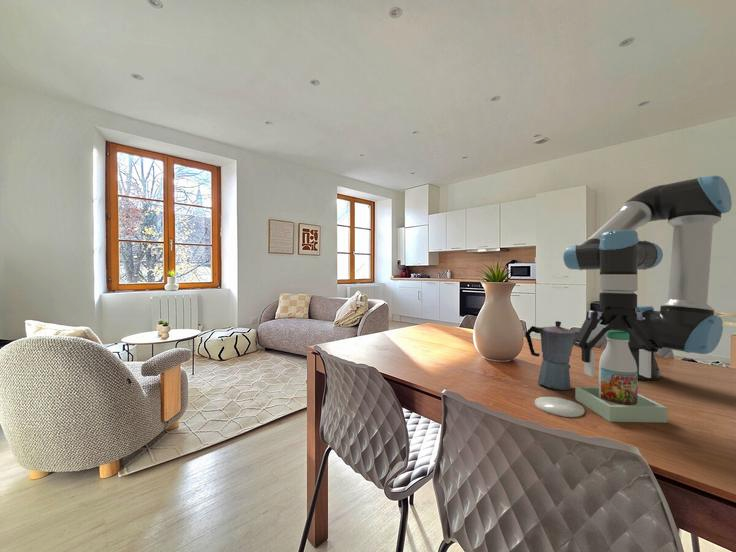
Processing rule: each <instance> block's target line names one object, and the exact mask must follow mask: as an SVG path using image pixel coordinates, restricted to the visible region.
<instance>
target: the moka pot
mask: <svg viewBox="0 0 736 552" xmlns="http://www.w3.org/2000/svg"><path fill="white" fill-rule="evenodd" d="M554 324H555V325H554V326H543V327H542V326H541V327H539V326H538V327H537V326H534V325H531V327H530V328H528V329H527V331H526V332H525V333H524V334H525V335H524V336H525V338H526V341H527V343H528V348H529V352H530V355H531V356H533V357H540V353H538V352H537V353H536V352H535V349H534V345H533V341H532V337H531V335H530V334H531V333H535V334H540V344H541V352H542V354H541V356H542V360H541V366H540V370H539V374H538V379H537V384H540V385H541V386H543V387H546V388H548V389H549V388H550V389H552V390H559V391H560V390H561V391H568V390H570V389H571V375H570V369H571V365H570V364H569V363H570V360H571V356H572V351H573V347H574V346H575V345H574V344H573V343H574V340H575V339H576V337H577V335H578V333H579V331H578V330H573V329H568V328H565V327H562V326H561V325H562V322H561V321H559V320H558V321H557V320H556V321H555V323H554Z"/></svg>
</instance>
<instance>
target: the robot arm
mask: <svg viewBox="0 0 736 552" xmlns="http://www.w3.org/2000/svg"><path fill="white" fill-rule="evenodd" d="M732 203H733V202H732V195H731V190H730V188H729V186H728V184H727V181H726V180H725V179H724V178H723V177H721V176H720V175H709V176H700V177H699V176H698V177H697V178H693V179H686V180H681V181H677V182H671V183H666V184H661V185H656V186H653V187H650V188H648V189H645V190H643V191H642V192H639V193H637V194H635V195H634V196H632V197H631V198H629V199H628V200H626V201H625V202H624V203H622V205H620V207H619V208H618V209H617V211H616V213H615V215H613V216H612V217H611V218H610V219H609V220H608V221H607V222H605V223H604V224H603V225H602V226H601V227H599V228H598V230H596V231H595V232H594V233H593V234H591V236H589V238H587V239H586V240H585V241H584V242H583V243H581V244H579V245H577V244H575V245H570V246H567V247H566V248H565V249H564V252H563V255H562V256H563V257H562V258H563V263H564V265H565V267H567V268H568V269H570V270H579V271H585V270H586V271H587V270H589V271H590V270H599V290H601V292H600V293H599V296H598V301H599V302H598V303H599V307H600V309H599V311H596V310H590V309H588V310H587V311H586V315H585V317H586V318H585V320H584V321H583V323H582V325H581V327H580V329H579V331H578V332H579V333H578V335H577V337H576V339H575V340H574V343H573V344H574V345H573V346H576V347H578V348H580V349H581V361H582V362H584V368H583V370H584V371H583V373H584V375H586V376H589V377H591V378H595V368H596V367H595V362H596V361H595V360H596V359H595V355H596V354H595V352H596V351H595V350H594V349H593V348H594V347H595V346H596V345H597V344H598V342H599V341H600V340H601V339H602V338H603V337H604V335H605V334H606V332H607V331H609V330H616V331H624V332H628V333H629V335H630V338H629V342H628V346H629V349H630V351H631V353H632V355H633V357H634V359H635V361H636V365H637V378H638V380H643V381H644V380H646V381H651V380H652V381H655V380H659V379H661V370H660V368H659V366H658V363H657V360H656V357H655V353H657V352H659V349H666V350H671V351H673V350H674V351H677V352H678V351H679V352H685V353H687V354H691V353H692V354H698V355H707V354H711V353H712V352H714V351H715V350H716V348H717V347H718V346H719V343H720V341H721V340H722V335H723V330H724V325H723V324H724V323H723V322H724V321H723V319H722V318H721V317H720V316H718V315H715V308H713V307H712V306H710V305H709V303H708V296H709V294H708V293H709V283H710V282H709V280H710V272H711V271H710V267H711V258H712V256H711V255H712V242H713V231H714V230H713V229H714V225H716V224H718V223H719V222H721V220H722V214H726V213H729V212H730V211H731V209H732V206H733V205H732ZM664 220H665V221H666V220H667V224H668V225H670V226H671V227H673V231H672V232H673V233H672V242H671V243H672V245H671V254H670V267H669V280H668V292H667V299H666V301H665V302H663V303H662V304H660V309H659V311H658V310H655V309H654V307H653V305H638V294H637V293H635V292H637V291H638V286H639V285H638V280H639V279H638V278H639V277H638V270H644V271H645V270H648V269H653V268H655V267H656V266H658V265H659V264H661V262H662V260H663V258H664V253H663V250H662V248H661V247H660V246H659V245H658V244H657V243H655V242H650V241H648V240H640V239H639V236H638V235H639V233H638V231H637V229H638V228H640V227H643V226H645V225H648V223H650V222H654V221H655V222H656V221H664ZM598 321H599V322H598ZM597 322H598V323H597ZM595 326H596V327H595Z"/></svg>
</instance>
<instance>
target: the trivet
mask: <svg viewBox="0 0 736 552" xmlns="http://www.w3.org/2000/svg"><path fill="white" fill-rule="evenodd" d="M534 405H535V407H536V408H537V409H539V411H543V412H545V413H547V414H551V415H553V416H559V417H564V418H579V417H582V416H584V415H585V408H584V407H583V406H582V405H580V404H579V403H577V402H575V401H572V400H569V399H565V398H562V397H557V396H555V397H554V396H541V397H536V398H535V400H534Z"/></svg>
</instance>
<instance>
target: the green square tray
mask: <svg viewBox="0 0 736 552" xmlns="http://www.w3.org/2000/svg"><path fill="white" fill-rule="evenodd" d="M574 394H575V400H576V401H577V402H579V403H580V404H582V405H584V406H585V407H586V408H587V409H589V410H591V411H593V412H594V413H596V414H597V415H598V416H600V417H602V418H604V419H605V420H606V421H607V422H609V423H616V422H617V423H668V407H667V406H664V405H663V404H661V403H659V402H656V401H655V400H653V399H650V398H648V397H646V396H643V395H642V394H640V393H638V405H610V404H608V403H606V402H605V401H603V400H601V399H600V398H599V386H575V393H574Z"/></svg>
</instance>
